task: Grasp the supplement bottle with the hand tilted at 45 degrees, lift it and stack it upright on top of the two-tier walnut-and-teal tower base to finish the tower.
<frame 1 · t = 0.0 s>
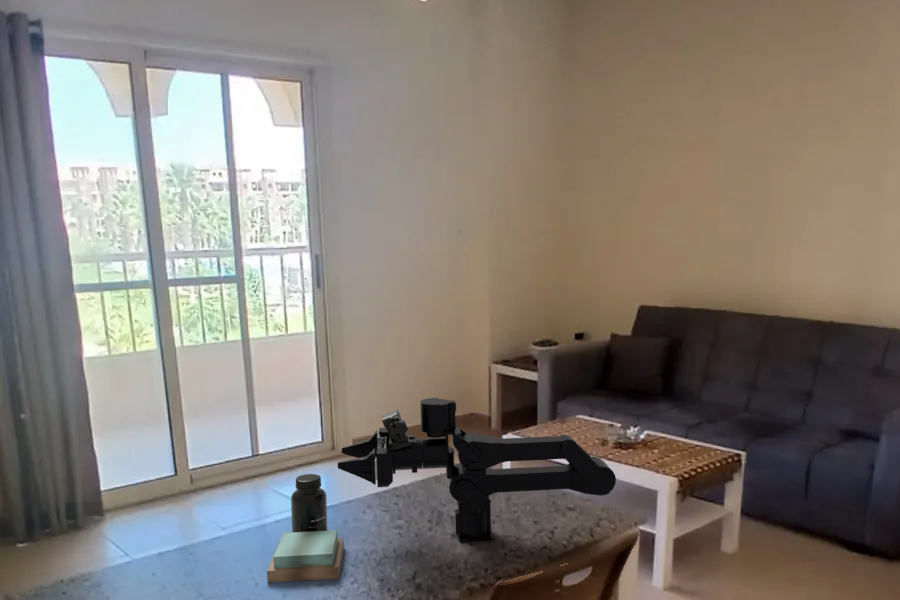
hand: (339, 457, 136), 17 cm above the table, tool horizontal, fingers open, 9 cm apart
tower base: (307, 564, 128), on the table
supplement bottle: (310, 538, 140), on the table
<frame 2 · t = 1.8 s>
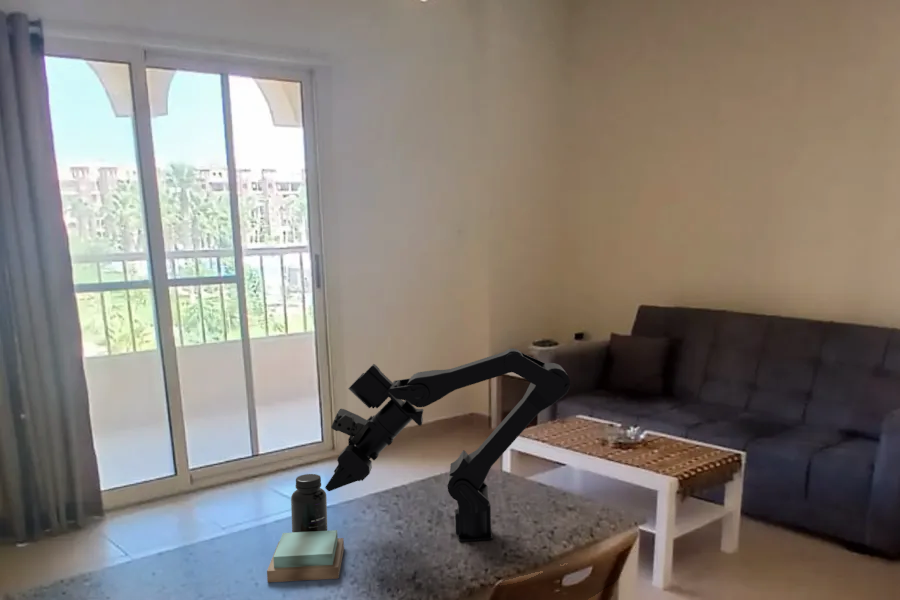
hand: (331, 481, 139), 11 cm above the table, tool tilted 45°, fingers open, 9 cm apart
nothing on the table moved.
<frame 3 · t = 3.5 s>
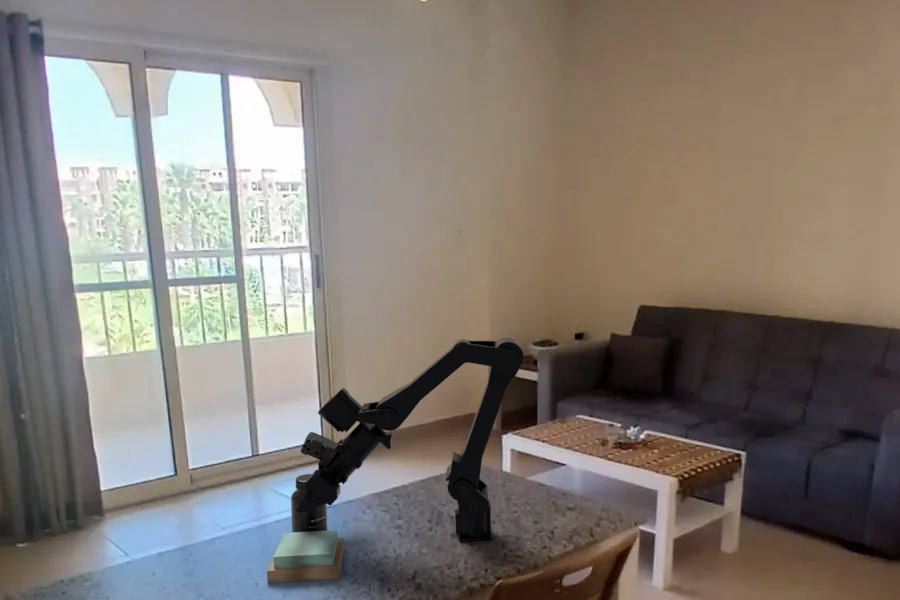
hand: (301, 504, 139), 7 cm above the table, tool tilted 45°, fingers closed on supplement bottle, 7 cm apart
supplement bottle: (310, 538, 140), on the table, touching gripper
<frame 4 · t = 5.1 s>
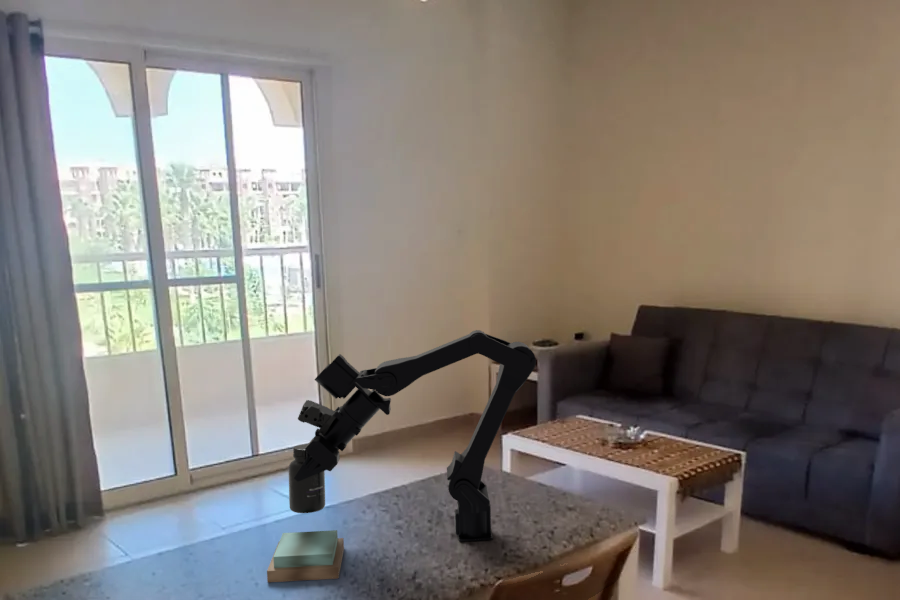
hand: (299, 473, 137), 13 cm above the table, tool tilted 45°, fingers closed on supplement bottle, 7 cm apart
supplement bottle: (307, 509, 138), point 6 cm above the table, touching gripper
when the fingers open (11 cm above the table, at t = 6.8 s): supplement bottle stays where it is, resting on tower base.
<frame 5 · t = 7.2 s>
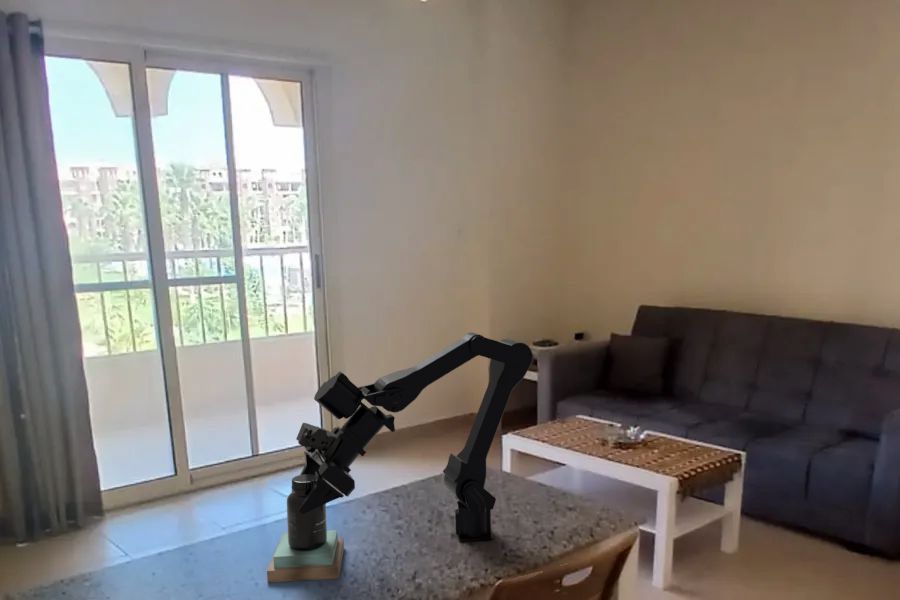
hand: (296, 503, 127), 12 cm above the table, tool tilted 45°, fingers open, 9 cm apart
supplement bottle: (308, 544, 127), point 4 cm above the table, touching tower base
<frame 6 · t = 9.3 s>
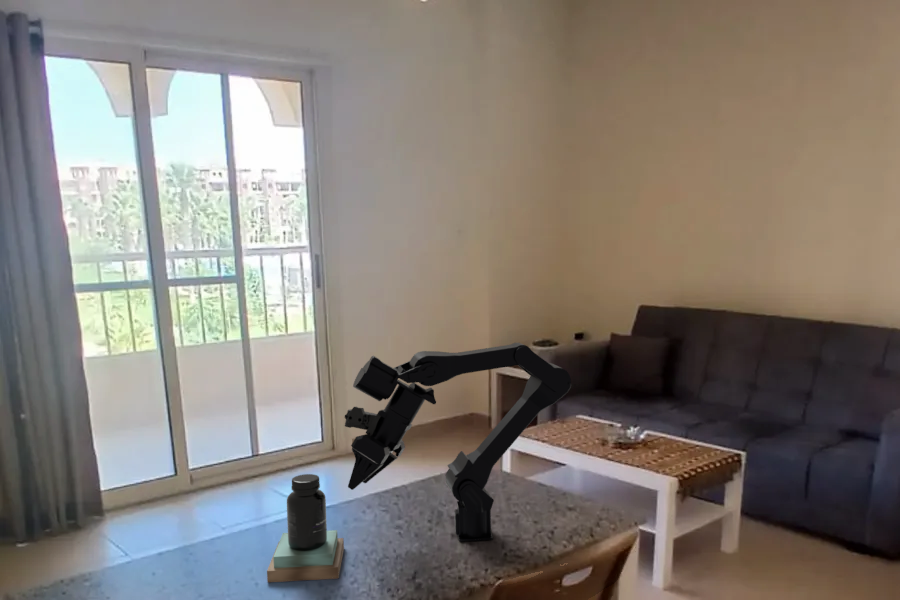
hand: (356, 485, 133), 12 cm above the table, tool tilted 35°, fingers open, 9 cm apart
nothing on the table moved.
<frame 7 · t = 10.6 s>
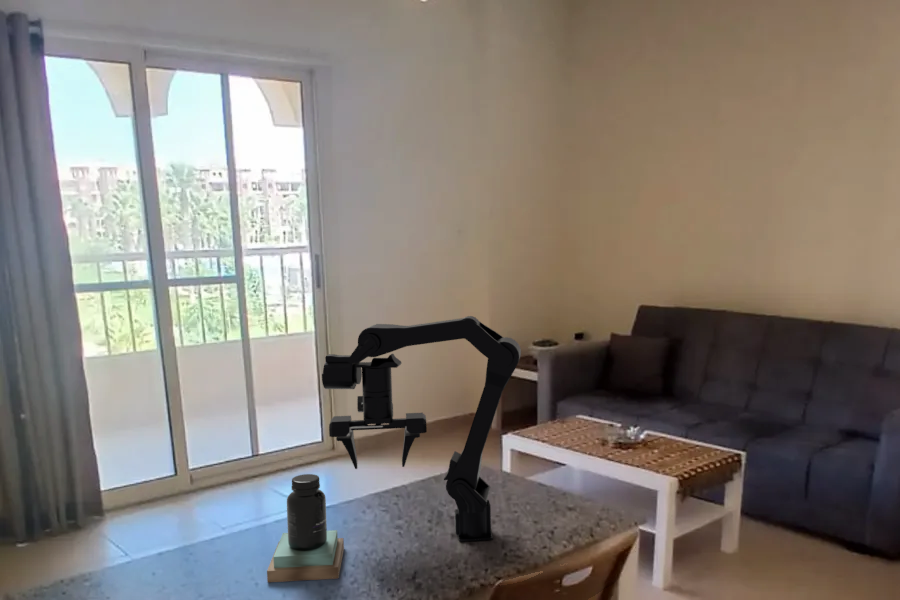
hand: (379, 467, 141), 13 cm above the table, tool pointing down, fingers open, 9 cm apart
nothing on the table moved.
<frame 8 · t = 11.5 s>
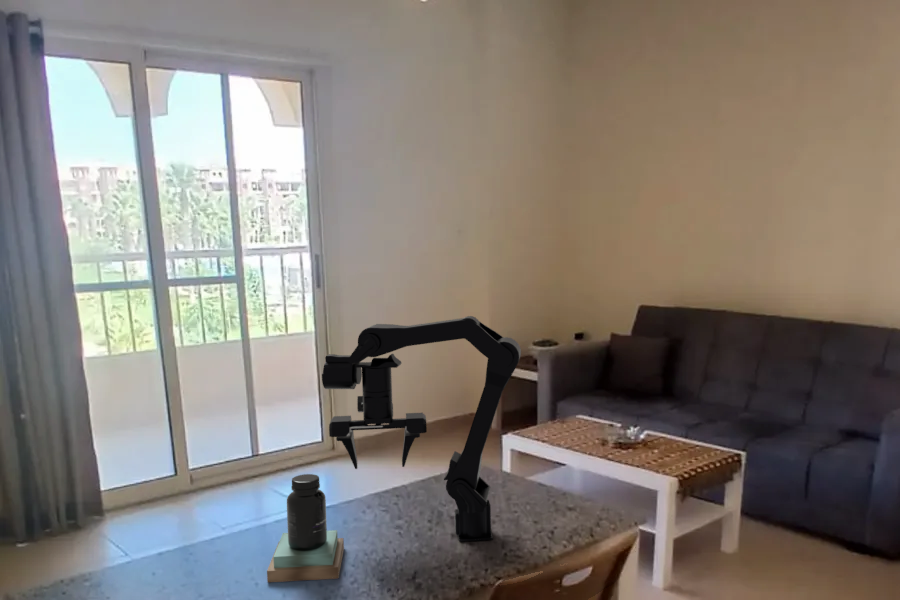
hand: (379, 467, 141), 13 cm above the table, tool pointing down, fingers open, 9 cm apart
nothing on the table moved.
at the end: supplement bottle 0.4 cm from the tower base (horizontally); supplement bottle point 3.8 cm above the table; supplement bottle tilted 0° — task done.
